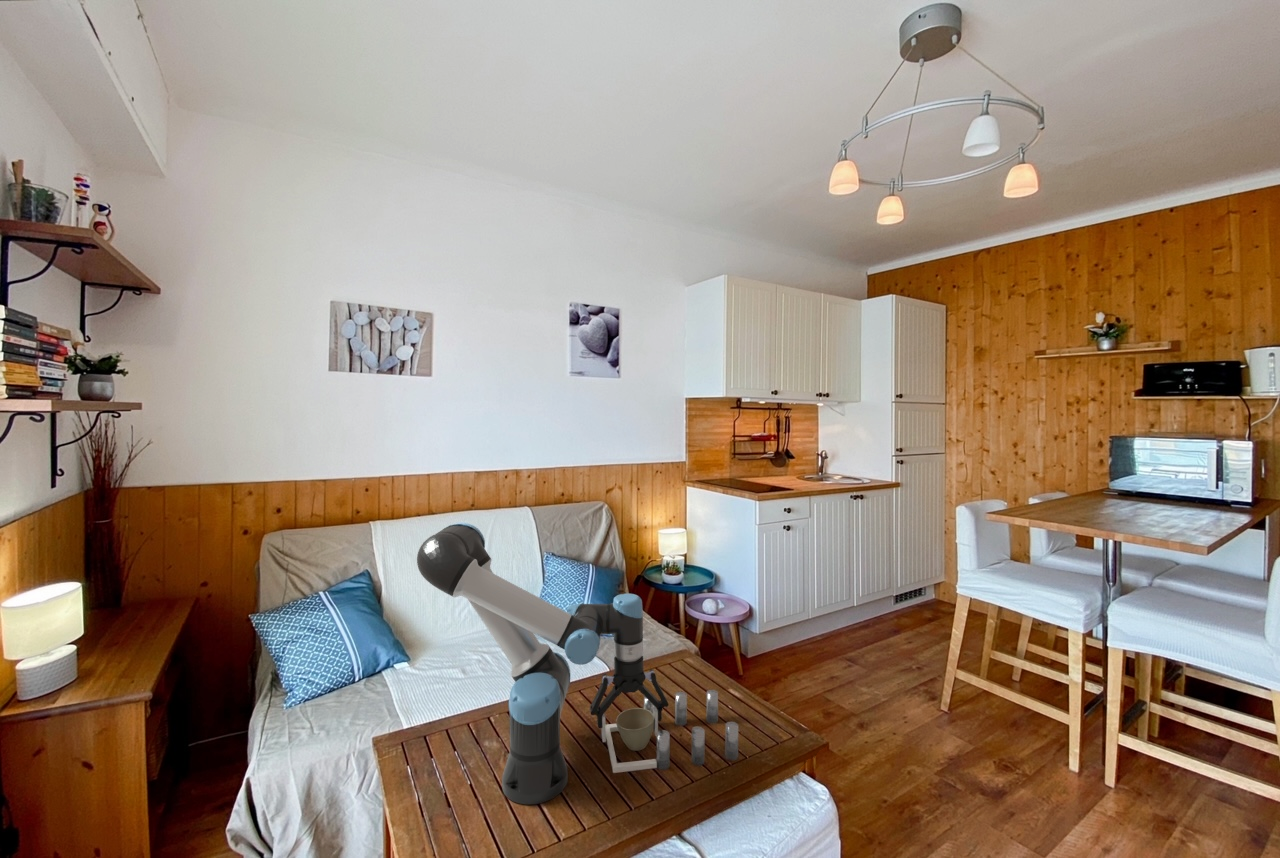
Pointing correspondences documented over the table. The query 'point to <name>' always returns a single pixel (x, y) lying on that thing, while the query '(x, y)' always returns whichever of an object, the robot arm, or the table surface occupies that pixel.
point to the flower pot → (635, 727)
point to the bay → (626, 765)
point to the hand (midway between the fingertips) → (629, 736)
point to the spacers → (694, 731)
